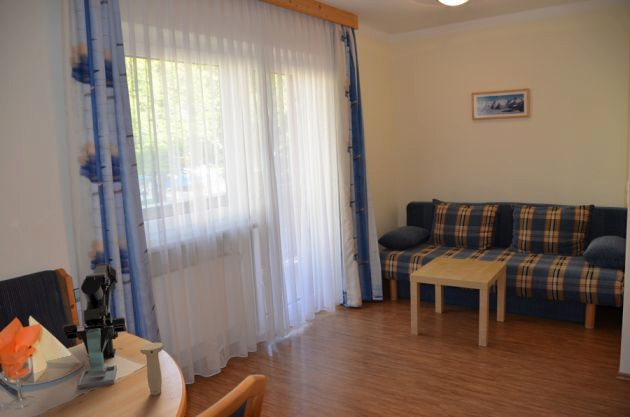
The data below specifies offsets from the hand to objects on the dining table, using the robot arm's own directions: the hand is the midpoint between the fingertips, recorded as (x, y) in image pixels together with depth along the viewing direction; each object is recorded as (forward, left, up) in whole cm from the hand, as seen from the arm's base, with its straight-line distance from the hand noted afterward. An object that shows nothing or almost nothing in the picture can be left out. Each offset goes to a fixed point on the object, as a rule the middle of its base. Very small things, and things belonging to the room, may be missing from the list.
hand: (95, 353), depth 160 cm
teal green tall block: (-1, 0, -7) cm, 7 cm away
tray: (-1, 0, -9) cm, 10 cm away
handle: (+15, +18, -10) cm, 25 cm away
